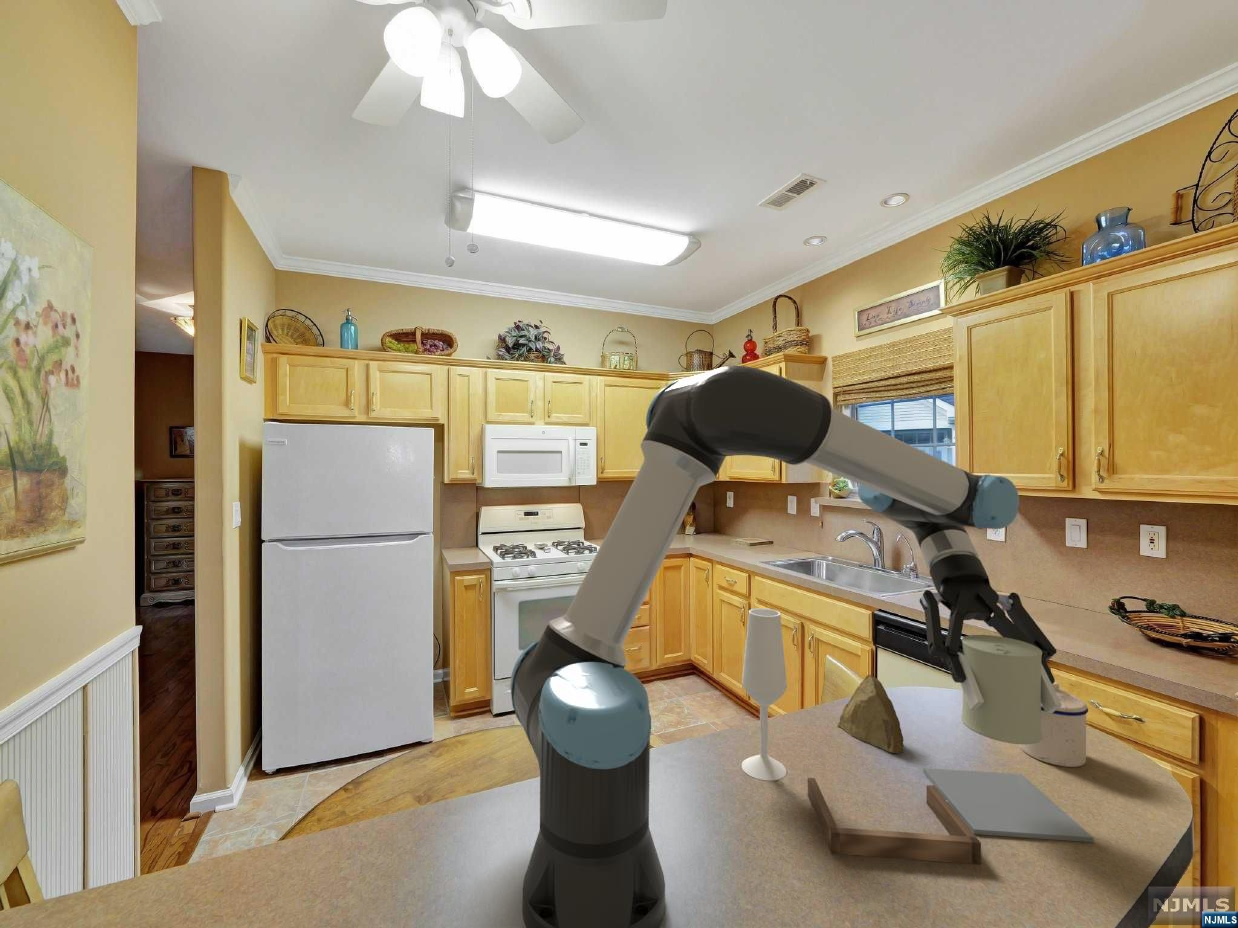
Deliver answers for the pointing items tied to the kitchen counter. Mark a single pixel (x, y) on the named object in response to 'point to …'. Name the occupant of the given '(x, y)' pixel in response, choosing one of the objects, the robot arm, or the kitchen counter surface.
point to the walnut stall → (901, 834)
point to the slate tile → (1004, 805)
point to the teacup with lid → (1062, 733)
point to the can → (1004, 689)
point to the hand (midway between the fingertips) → (1015, 707)
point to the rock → (872, 717)
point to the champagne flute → (764, 683)
